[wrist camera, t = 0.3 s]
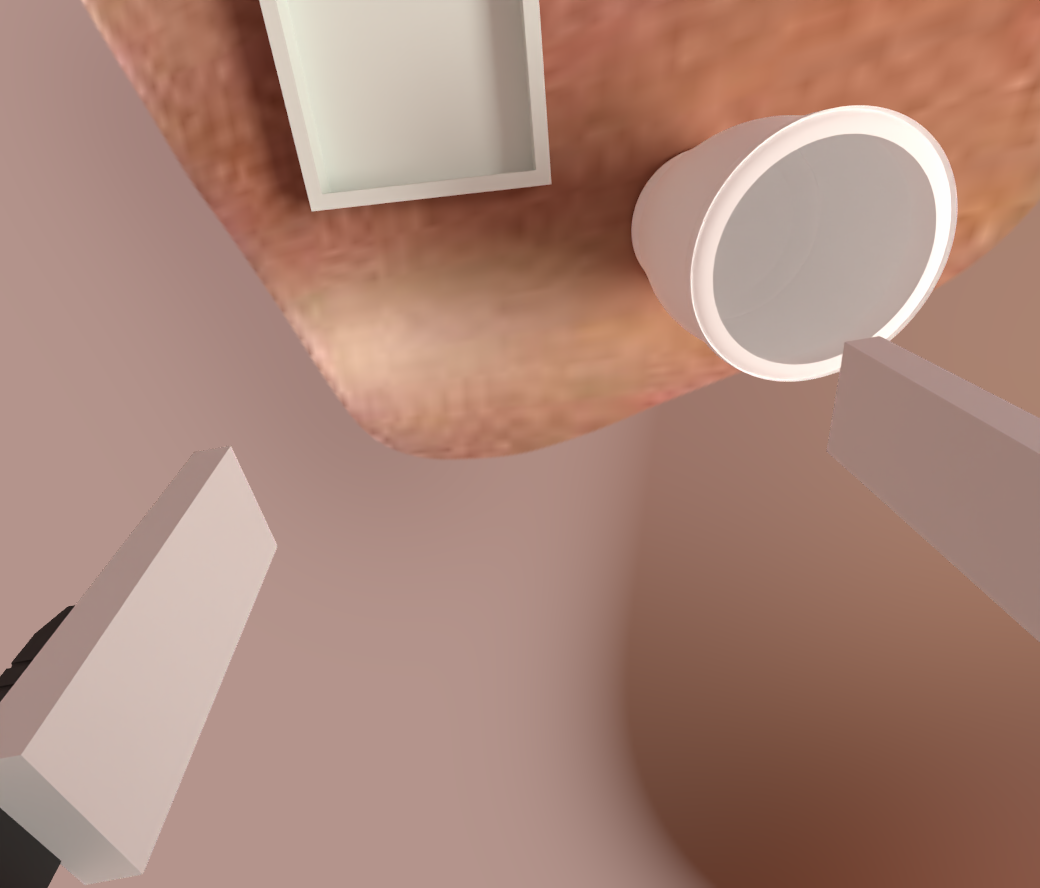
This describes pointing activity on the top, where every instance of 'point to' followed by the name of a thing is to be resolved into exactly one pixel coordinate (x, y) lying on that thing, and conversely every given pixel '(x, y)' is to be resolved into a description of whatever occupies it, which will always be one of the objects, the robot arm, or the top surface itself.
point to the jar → (798, 236)
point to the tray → (411, 96)
